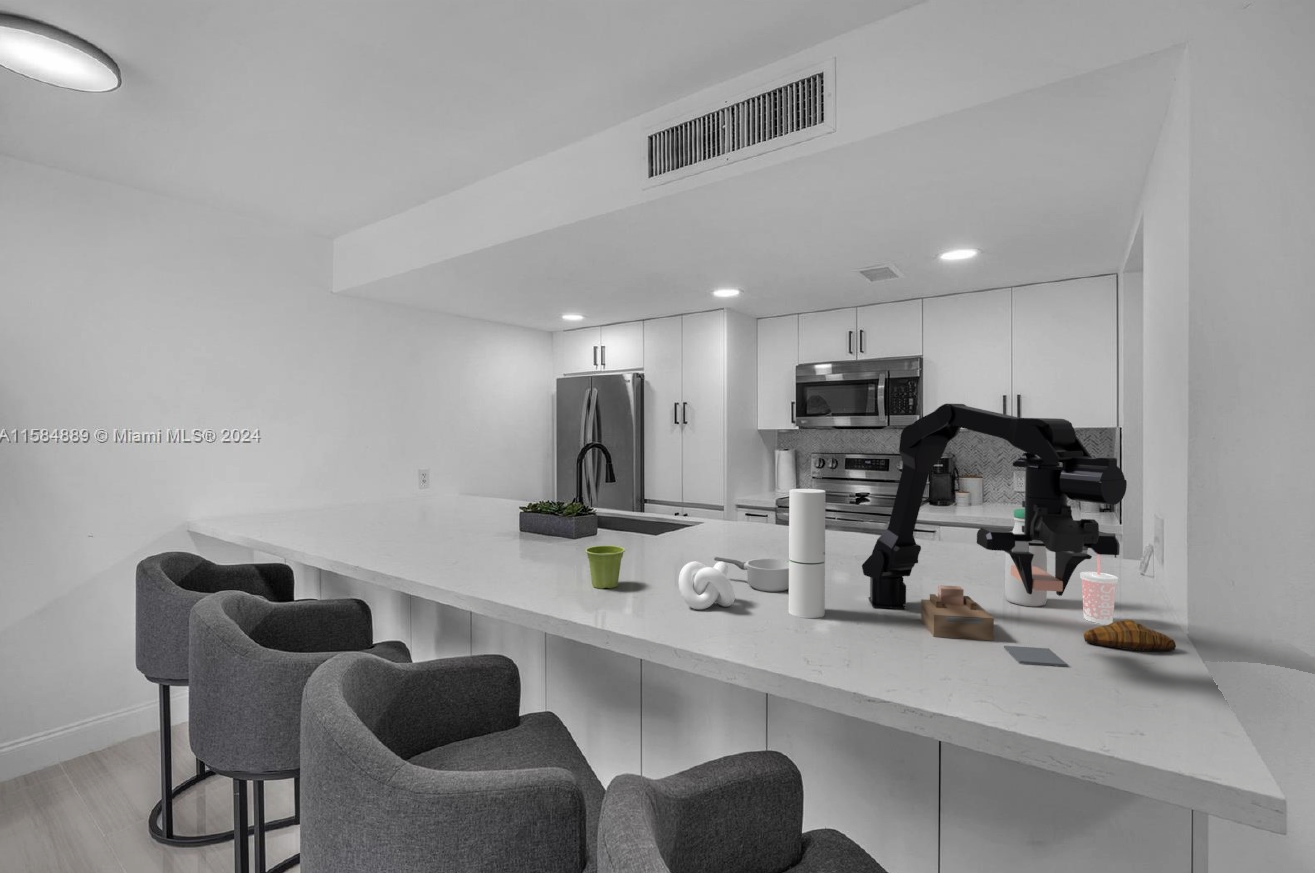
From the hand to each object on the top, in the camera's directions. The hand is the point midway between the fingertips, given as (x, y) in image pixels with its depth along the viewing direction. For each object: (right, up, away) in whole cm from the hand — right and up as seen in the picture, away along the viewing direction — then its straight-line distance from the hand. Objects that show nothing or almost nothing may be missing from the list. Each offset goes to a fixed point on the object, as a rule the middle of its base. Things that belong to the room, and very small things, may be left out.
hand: (1044, 594), depth 98 cm
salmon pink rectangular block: (+1, +1, +3) cm, 4 cm away
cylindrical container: (-31, -11, +27) cm, 43 cm away
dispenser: (-6, -11, +17) cm, 21 cm away
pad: (+1, -11, +4) cm, 12 cm away
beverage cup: (+25, -11, +22) cm, 35 cm away
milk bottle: (+18, -11, +35) cm, 41 cm away
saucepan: (-39, -11, +49) cm, 64 cm away
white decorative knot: (-52, -11, +32) cm, 62 cm away
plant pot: (-74, -10, +48) cm, 89 cm away
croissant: (+20, -12, +8) cm, 25 cm away
